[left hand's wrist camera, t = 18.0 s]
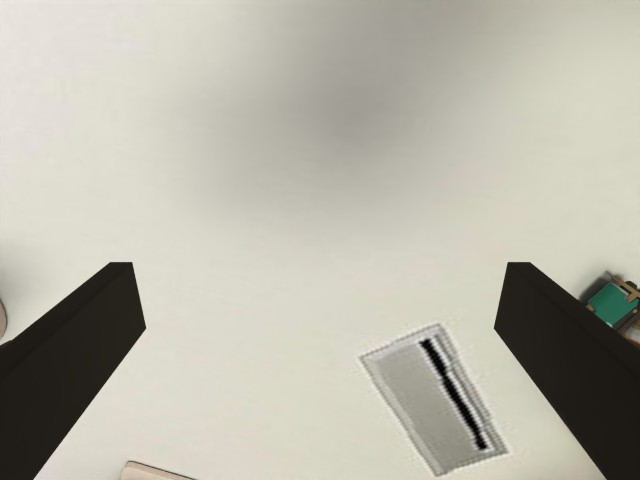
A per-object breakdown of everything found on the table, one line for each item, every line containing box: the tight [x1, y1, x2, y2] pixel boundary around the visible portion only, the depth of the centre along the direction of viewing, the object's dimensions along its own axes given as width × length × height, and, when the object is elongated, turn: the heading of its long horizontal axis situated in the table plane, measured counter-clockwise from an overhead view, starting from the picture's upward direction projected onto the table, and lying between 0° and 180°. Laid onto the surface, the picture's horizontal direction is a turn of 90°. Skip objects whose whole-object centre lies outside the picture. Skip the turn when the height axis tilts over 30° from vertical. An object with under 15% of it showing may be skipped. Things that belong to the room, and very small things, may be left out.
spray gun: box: [586, 276, 640, 344], centre depth 46 cm, size 4×17×15 cm
